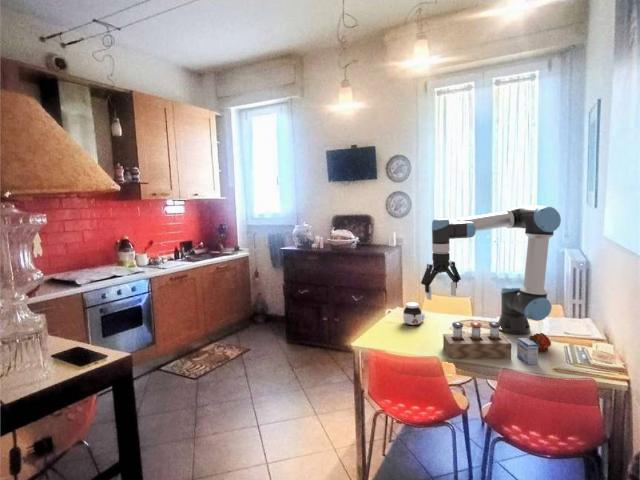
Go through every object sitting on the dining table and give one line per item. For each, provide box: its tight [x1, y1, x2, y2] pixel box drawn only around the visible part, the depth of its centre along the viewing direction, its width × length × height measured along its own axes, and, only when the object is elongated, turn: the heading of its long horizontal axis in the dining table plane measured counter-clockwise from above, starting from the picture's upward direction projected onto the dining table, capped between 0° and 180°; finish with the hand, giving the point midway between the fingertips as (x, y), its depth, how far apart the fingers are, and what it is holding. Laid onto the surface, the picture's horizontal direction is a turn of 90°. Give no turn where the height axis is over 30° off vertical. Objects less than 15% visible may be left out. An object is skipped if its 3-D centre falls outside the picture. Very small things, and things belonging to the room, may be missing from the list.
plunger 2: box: [470, 321, 482, 341], centre depth 172 cm, size 5×5×9 cm
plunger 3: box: [488, 321, 500, 341], centre depth 171 cm, size 5×5×9 cm
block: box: [442, 332, 512, 360], centre depth 172 cm, size 26×12×7 cm, turn 85°
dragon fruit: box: [528, 332, 552, 353], centre depth 173 cm, size 8×8×12 cm
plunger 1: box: [451, 321, 464, 341], centre depth 172 cm, size 5×5×9 cm
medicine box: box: [516, 337, 539, 366], centre depth 163 cm, size 8×4×9 cm, turn 5°
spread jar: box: [402, 301, 426, 327], centre depth 215 cm, size 12×11×12 cm
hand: (441, 297), depth 178 cm, fingers open, 13 cm apart
